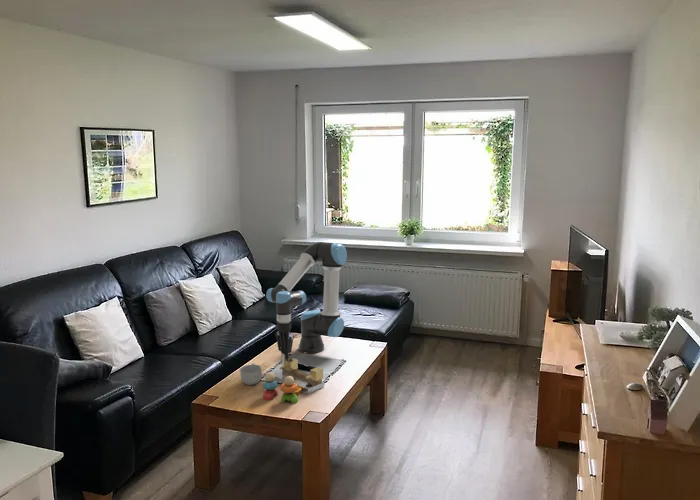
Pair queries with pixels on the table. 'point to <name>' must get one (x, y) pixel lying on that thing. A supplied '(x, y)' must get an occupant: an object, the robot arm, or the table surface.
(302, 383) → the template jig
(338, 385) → the table surface
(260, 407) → the table surface
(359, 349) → the table surface
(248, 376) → the teacup
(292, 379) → the stacking toy figures
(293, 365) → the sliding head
